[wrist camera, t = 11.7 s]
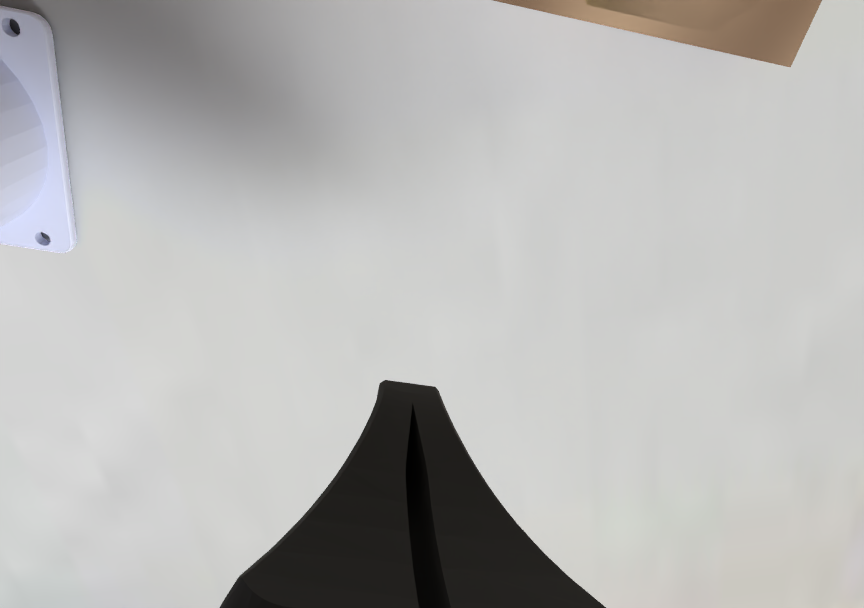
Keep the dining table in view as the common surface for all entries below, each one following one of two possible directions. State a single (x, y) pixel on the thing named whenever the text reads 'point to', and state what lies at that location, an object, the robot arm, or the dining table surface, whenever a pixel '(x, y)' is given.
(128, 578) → the dining table surface
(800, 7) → the jig plate
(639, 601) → the dining table surface
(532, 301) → the dining table surface
